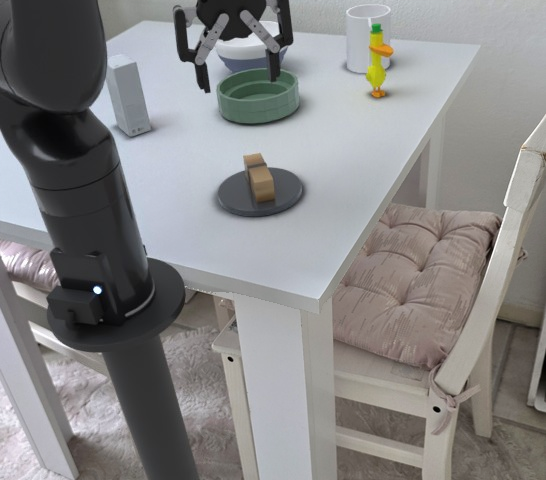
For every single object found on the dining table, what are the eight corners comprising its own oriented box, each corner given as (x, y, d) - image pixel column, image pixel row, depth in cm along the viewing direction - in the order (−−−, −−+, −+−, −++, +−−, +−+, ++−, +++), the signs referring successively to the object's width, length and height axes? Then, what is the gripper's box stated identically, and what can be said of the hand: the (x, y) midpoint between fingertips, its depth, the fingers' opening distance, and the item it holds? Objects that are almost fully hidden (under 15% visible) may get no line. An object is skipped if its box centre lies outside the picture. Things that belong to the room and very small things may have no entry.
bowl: (307, 66, 131) (304, 26, 126) (258, 92, 123) (254, 51, 118) (252, 54, 138) (248, 16, 134) (203, 78, 130) (197, 39, 126)
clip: (276, 199, 91) (273, 178, 89) (256, 203, 91) (253, 182, 89) (263, 172, 97) (261, 152, 95) (245, 175, 97) (242, 155, 95)
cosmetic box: (152, 130, 115) (137, 61, 107) (130, 138, 113) (112, 69, 105) (138, 119, 119) (123, 52, 111) (116, 126, 117) (99, 59, 109)
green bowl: (287, 127, 110) (284, 102, 107) (208, 124, 114) (204, 99, 111) (308, 92, 120) (306, 68, 118) (235, 90, 124) (232, 67, 122)
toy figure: (398, 98, 115) (400, 27, 107) (382, 104, 114) (383, 33, 106) (375, 86, 120) (375, 18, 112) (359, 92, 119) (358, 23, 111)
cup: (348, 82, 122) (346, 27, 116) (346, 58, 132) (345, 6, 125) (392, 79, 122) (394, 23, 115) (388, 55, 131) (389, 2, 124)
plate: (288, 220, 89) (288, 213, 88) (206, 213, 92) (205, 206, 92) (310, 175, 97) (310, 169, 97) (234, 170, 101) (233, 164, 100)
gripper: (164, -39, 71) (188, 106, 81) (293, -57, 72) (301, 87, 83) (158, -53, 76) (181, 84, 87) (277, -69, 78) (286, 67, 88)
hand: (240, 85), depth 85 cm, fingers open, 8 cm apart
